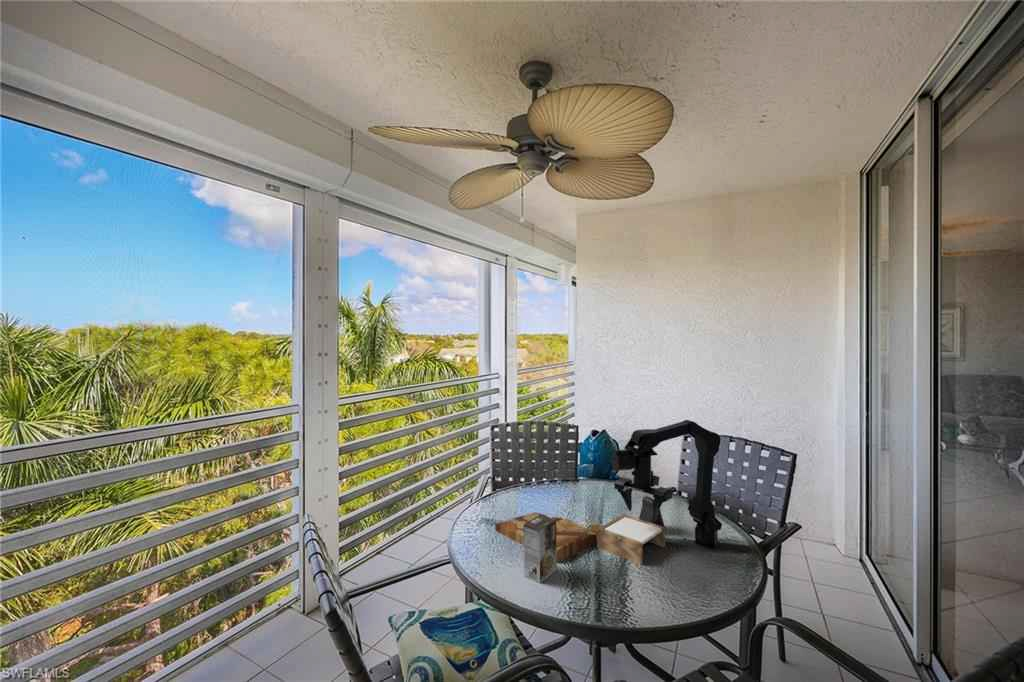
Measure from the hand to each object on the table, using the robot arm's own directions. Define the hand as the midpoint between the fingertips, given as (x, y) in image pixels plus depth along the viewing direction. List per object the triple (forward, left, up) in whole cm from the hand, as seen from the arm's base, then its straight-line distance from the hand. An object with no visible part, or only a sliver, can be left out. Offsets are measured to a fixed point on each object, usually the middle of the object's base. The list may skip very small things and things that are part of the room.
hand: (642, 514), depth 148 cm
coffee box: (+16, +35, -13) cm, 40 cm away
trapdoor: (+3, 0, -9) cm, 9 cm away
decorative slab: (+31, +15, -13) cm, 37 cm away
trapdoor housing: (+4, 0, -12) cm, 13 cm away
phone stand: (+6, -17, -13) cm, 22 cm away
